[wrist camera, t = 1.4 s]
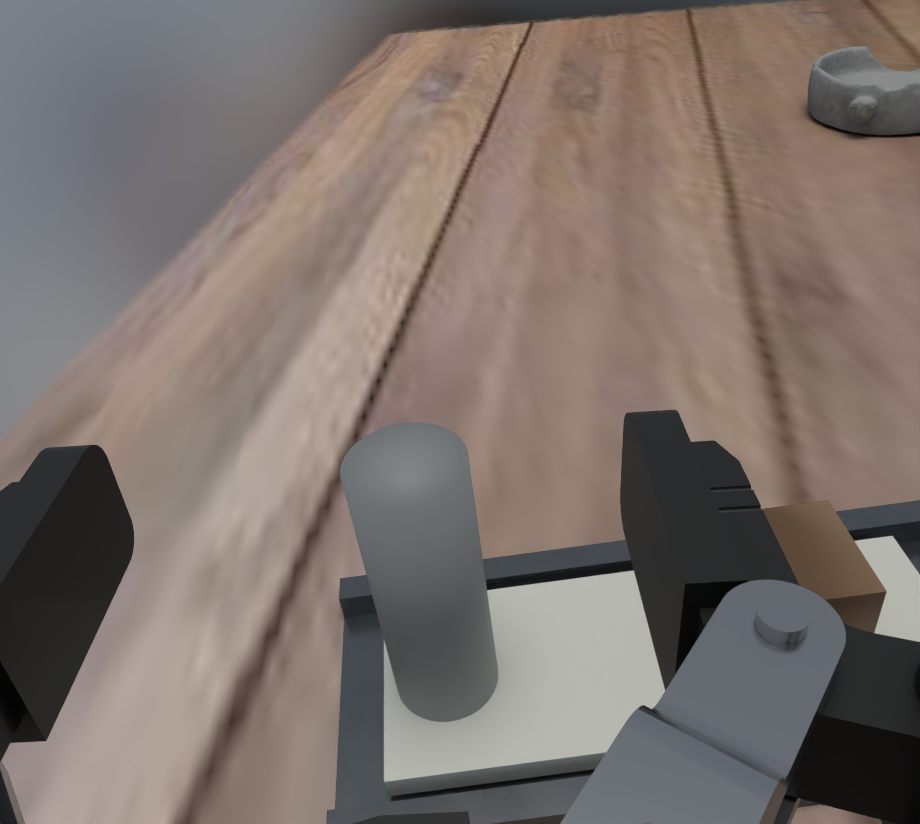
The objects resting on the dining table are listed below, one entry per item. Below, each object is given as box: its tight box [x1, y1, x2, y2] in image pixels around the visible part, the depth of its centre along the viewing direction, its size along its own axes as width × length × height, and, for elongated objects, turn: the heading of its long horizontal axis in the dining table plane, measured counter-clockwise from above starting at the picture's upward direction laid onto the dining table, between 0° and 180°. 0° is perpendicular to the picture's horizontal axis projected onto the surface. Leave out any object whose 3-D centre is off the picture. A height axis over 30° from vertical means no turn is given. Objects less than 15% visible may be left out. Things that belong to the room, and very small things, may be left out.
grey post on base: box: [340, 423, 920, 796], centre depth 29 cm, size 22×8×12 cm, turn 94°
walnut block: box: [761, 500, 887, 633], centre depth 30 cm, size 4×4×4 cm
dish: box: [808, 46, 920, 135], centre depth 77 cm, size 14×14×5 cm
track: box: [326, 500, 920, 824], centre depth 32 cm, size 34×12×1 cm, turn 94°
